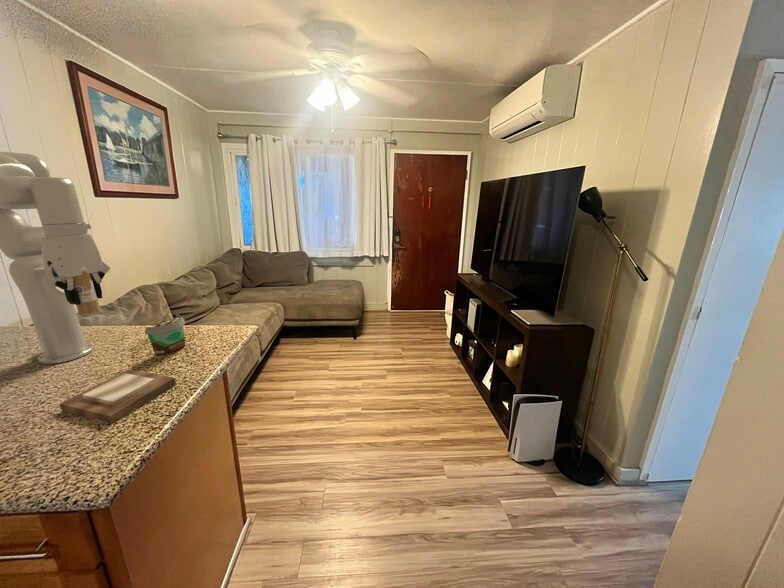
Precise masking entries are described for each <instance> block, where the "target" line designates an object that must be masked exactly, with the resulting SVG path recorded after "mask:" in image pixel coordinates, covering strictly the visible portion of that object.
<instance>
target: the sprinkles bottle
mask: <svg viewBox="0 0 784 588" xmlns="http://www.w3.org/2000/svg"><path fill="white" fill-rule="evenodd" d="M84 270H87V269H86V267H84V266H83V267H81V270H80V271H83V272H81V273H82V275H79V276H77V277H73V288H74V289H76V290H77V292H78V295H79V298H80V302H81V303H80V304H79V305H76V309H77V314H78V315H82V316H83V315H91V314H95V313H98V312H100V311H101V310H102V309H101V307H100V305H99V299H98V298H97V295H96V292H95V288H94V285H93V281H92V279H91V275H90V274H88V273H86V272H87V271H84Z"/></svg>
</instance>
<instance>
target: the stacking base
mask: <svg viewBox="0 0 784 588" xmlns="http://www.w3.org/2000/svg"><path fill="white" fill-rule="evenodd" d="M175 385H177V382H176V378H175V377H172V376H167V375H162V374H161V375H160V374H158V373H157V374H155V373H151V372H145V371H139V370H133V369H129V368H128V369H127V370H125V371H123V372H121V373H119V374H117V375H115V376H113V377H111V378H108V379H107V380H105V381H102V382H100V383H99V384H97V385H95V386H93V387H90V388H88V389H87V390H85V391H82V392H81V393H79V394H77V395H75V396H73V397H71V398H68V399H67V400H63V402H61V403H59V407H60V409H61V411H62V412H64V413H69V414H71V415H72V414H73V415H76V416H80V417H84V418H89V419H91V420H92V419H93V420H96V421H101V422H105V423H107V424H108V423H109V424H114V423H116V422H118V421H119V420H121V419H122V418H124V417H125V416H127V415H129V414H131V413H132V412H134V411H135V410H137V409H138V408H140V407H141V406H143V405H145V404H146V403H148V402H150V401H152V400H154V399H155V398H156V397H158V396H160V395H162V394H163V393H164V392H166V391H168V390H169V389H171V388H174V386H175Z"/></svg>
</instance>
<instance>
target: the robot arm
mask: <svg viewBox="0 0 784 588" xmlns="http://www.w3.org/2000/svg"><path fill="white" fill-rule="evenodd" d="M75 187H76V186H75V185H74V182H73V181H72V180H71V179H69V178H66V177H51V174H50V169H49V168H48V165H47V164H46V163H45V161H43V160H42V159H41V158H40V157H38V156H37V155H34V154H30V153H23V152H22V153H20V152H7V151H0V251H1V252H2V253H3V254H4V256H6V257H7V258H9V259H10V260H13V261H12V262H11V263H10V264H9V266H8V272H9V274H10V276H11V279H12V280H13V282H14V283H15V285H16V287H17V288H18V290H19V292H20V294H21V295H22V297H23V300H24V303H25V304H26V307H27V311H28V313H29V316H30V318H31V321H32V324H33V327H34V330H35V332H36V335H37V338H38V341H39V347H40V348H41V349H42V353H41V354H40V355H39V356H38V357H37V360H38V363H40V364H43V365H44V364H45V365H50V364H51V365H54V364H60V363H65V362H69V361H72V360H75V359H79V358H81V357H84V356H86V355H87V354H90V353H91V352H92V351H93V350H95V349H94V348H95V347H94V344H93V343H91V342H86V339H85V337H84V333H83V330H82V327H81V325H80V321H79V317H78V313H77V311H76V307H75V306H77V305H79V304H80V303H81V302H80V298H79V295H78V292H77V290H76V289H74V288H73V277H77V276H79V275H82V273H81V272H83V271H80V270H81V267H83V266H84V267H86V269H87V270H84V271H87V272H86V273H88V274H90V275H91V279H92V281H93V285H94V288H95V292H96V295H97V300H101V299H103V290H102V287H101V283H102V282H103V281H102V280H103V279H104V277H105V275H106V274H108V272H109V271H111V267H109V266H108V265H107V264H106V263H105V262H103V260H102V257H101V253H100V251H99V249H98V247H97V244H96V243H95V240H94V238H93V237H92V235H91V234H89V233H88V232H89V231H88V230H91V229H92V226H91V225H90V223H86V222H85V220H84V216H83V213H82V209H81V206H80V201H79V198H78V195H77V190H76V188H75ZM33 209H35V210H36V211H37V214H38V218H39V220H40V224H41V226H32V225H31V226H30V225H29V224H28V221H26V219H25V218H24V217H23V216H22V215H21V214H19V213H17V212H16V211H13V210H33ZM58 288H59V289H61V290H59V289H58ZM62 290H63V291H64V292H63V291H62Z"/></svg>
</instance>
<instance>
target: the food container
mask: <svg viewBox="0 0 784 588" xmlns="http://www.w3.org/2000/svg"><path fill="white" fill-rule="evenodd" d="M185 324H186V321H185V319H184V317H183V316H182V315H180V314H176V313H175V317H173V318H171V319H168V320H164V321H161V322H160V323H158V324H156V325H155V326H152V327H147V326H145V329H144V333H145V334H144V335H147V336H148V339H149V342H150V345H151V346H152V347H151V348H152V349H153V352H154V355H155V356H167V355H172V354H175V353H177V351H178V352H180V351H182V350H184V348H185V347H186V339H185V330H184V325H185ZM181 349H182V350H181Z"/></svg>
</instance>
